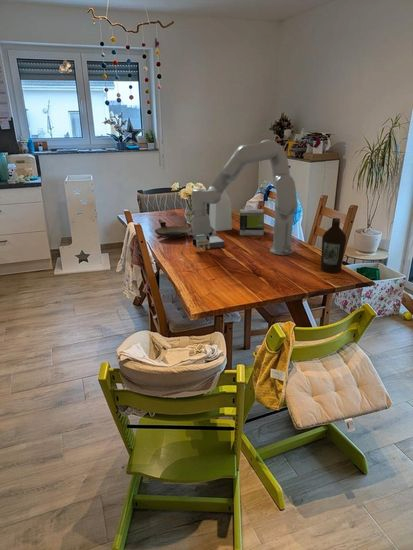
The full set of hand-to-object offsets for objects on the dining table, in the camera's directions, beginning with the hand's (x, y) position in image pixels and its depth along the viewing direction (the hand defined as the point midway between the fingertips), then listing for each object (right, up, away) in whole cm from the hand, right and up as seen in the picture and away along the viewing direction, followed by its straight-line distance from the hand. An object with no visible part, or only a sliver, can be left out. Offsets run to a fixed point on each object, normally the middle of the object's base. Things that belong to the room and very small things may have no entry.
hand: (201, 244), depth 214 cm
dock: (+5, +2, +15) cm, 16 cm away
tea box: (+31, +10, +35) cm, 48 cm away
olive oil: (+63, -14, -25) cm, 69 cm away
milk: (+12, +15, +48) cm, 51 cm away
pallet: (0, -1, 0) cm, 1 cm away
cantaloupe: (+3, +28, +82) cm, 87 cm away
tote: (0, +3, -1) cm, 3 cm away
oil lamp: (-18, +8, +32) cm, 38 cm away
